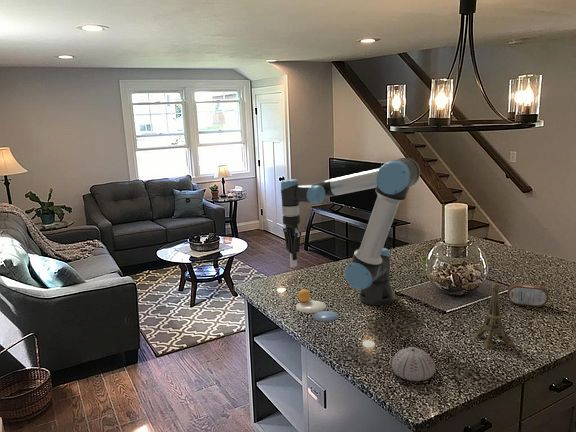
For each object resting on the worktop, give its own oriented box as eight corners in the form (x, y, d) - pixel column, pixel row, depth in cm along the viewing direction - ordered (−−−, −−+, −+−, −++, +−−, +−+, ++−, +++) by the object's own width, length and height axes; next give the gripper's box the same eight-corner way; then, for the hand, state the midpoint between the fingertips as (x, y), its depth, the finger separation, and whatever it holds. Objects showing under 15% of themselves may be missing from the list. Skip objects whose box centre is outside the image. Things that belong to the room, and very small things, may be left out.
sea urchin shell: (386, 364, 154) (386, 341, 152) (427, 361, 155) (427, 338, 153) (397, 387, 141) (397, 362, 139) (442, 383, 142) (443, 358, 140)
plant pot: (441, 279, 227) (441, 262, 225) (421, 279, 229) (421, 261, 227) (439, 272, 236) (439, 256, 234) (419, 272, 238) (419, 256, 236)
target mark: (329, 302, 206) (329, 301, 206) (321, 314, 194) (321, 313, 194) (301, 299, 211) (301, 299, 211) (291, 311, 199) (291, 310, 199)
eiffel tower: (471, 335, 170) (473, 268, 165) (500, 332, 171) (503, 266, 166) (486, 349, 160) (488, 278, 155) (516, 346, 161) (519, 276, 156)
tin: (547, 305, 192) (549, 285, 190) (548, 308, 189) (549, 288, 187) (506, 301, 198) (507, 282, 196) (506, 304, 195) (507, 284, 193)
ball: (309, 288, 211) (311, 301, 210) (297, 290, 211) (299, 303, 210) (308, 287, 206) (311, 300, 205) (296, 290, 206) (298, 302, 205)
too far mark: (341, 312, 195) (341, 312, 195) (334, 322, 186) (334, 322, 186) (317, 310, 199) (317, 309, 199) (310, 320, 189) (310, 319, 189)
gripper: (276, 213, 211) (279, 264, 216) (290, 218, 200) (293, 271, 204) (291, 211, 214) (294, 261, 219) (305, 216, 203) (308, 268, 208)
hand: (293, 266), depth 212 cm, fingers closed
